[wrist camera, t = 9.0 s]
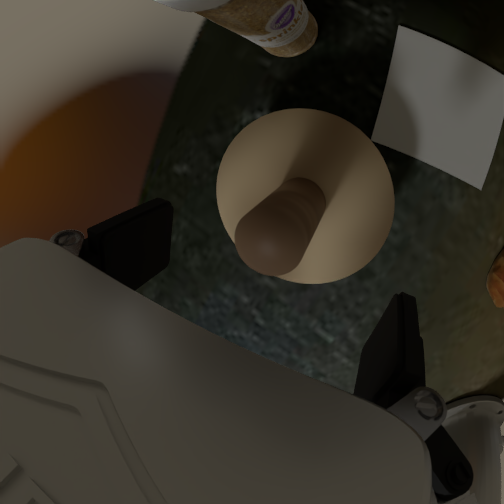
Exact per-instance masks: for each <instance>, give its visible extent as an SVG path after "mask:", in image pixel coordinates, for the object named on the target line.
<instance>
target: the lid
mask: <svg viewBox="0 0 504 504" xmlns="http://www.w3.org/2000/svg"><path fill="white" fill-rule="evenodd" d="M217 202H218V208H219V212H220V215H221V219H222V221H223V224H224V226H225V228H226V230H227V232H228V234H229V236H230V237H231V239H232V240H233V242H234V243H235V245H236V249H237V251H238V253H239V255H240V257H241V258H242V260H243V261H244V262H245V263H246V264H247V265H248V266H249V267H250V268H252V269H253V270H255V271H257V272H259V273H261V274H264V275H269V276H276V277H279V278H282V279H285V280H288V281H292V282H297V283H306V284H320V283H327V282H332V281H336V280H339V279H342V278H345V277H347V276H349V275H351V274H353V273H355V272H356V271H358V270H360V269H361V268H362V267H364V266H365V265H366V264H367V263H369V262H370V261H371V260H372V258H373V257H374V256H375V255H376V254H377V253H378V251H379V250H380V249H381V247H382V246H383V244H384V242H385V240H386V238H387V236H388V234H389V231H390V228H391V225H392V221H393V215H394V202H395V199H394V189H393V184H392V180H391V176H390V173H389V170H388V168H387V165H386V163H385V161H384V159H383V157H382V155H381V154H380V152H379V150H378V149H377V147H376V146H375V145H374V144H373V142H372V141H371V140H370V139H369V138H368V137H367V136H366V135H365V134H364V133H363V132H362V131H361V130H360V129H358V128H357V127H356V126H354V125H353V124H351V123H350V122H348V121H346V120H344V119H342V118H341V117H339V116H336V115H333V114H331V113H328V112H324V111H319V110H314V109H303V108H296V109H285V110H280V111H276V112H273V113H270V114H267V115H265V116H262V117H261V118H259V119H257V120H255V121H253V122H252V123H251V124H249V125H248V126H247V127H245V128H244V129H243V130H242V131H241V132H240V133H239V134H238V135H237V136H236V137H235V138H234V140H233V141H232V142H231V144H230V145H229V147H228V149H227V150H226V152H225V154H224V156H223V159H222V162H221V164H220V168H219V172H218V177H217Z"/></svg>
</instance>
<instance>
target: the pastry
mask: <svg viewBox="0 0 504 504" xmlns="http://www.w3.org/2000/svg"><path fill="white" fill-rule="evenodd" d="M486 286H487V289H488V292H489V294H490V296H491V297H492V300H493V302H494V304H495V306H496V307H503V308H504V249H503V250H502V251H501V252H500V254H499V255H498V257H497V258H496V259H495V261H494V262H493V264H492V267H491V269H490V271H489V273H488V276H487V282H486Z"/></svg>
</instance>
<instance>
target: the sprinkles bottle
mask: <svg viewBox="0 0 504 504" xmlns="http://www.w3.org/2000/svg"><path fill="white" fill-rule="evenodd" d="M154 1H156V2H158V3H161V4H163V5H166V6H169V7H171V8H174V9H177V10H181V11H186V12H195V13H197V14H199V15H201V16H203V17H206V18H208V19H210V20H211V21H213V22H215V23H217V24H219V25H221V26H223V27H225V28H227V29H229V30H231V31H233V32H235V33H237V34H239V35H241V36H243V37H245V38H247V39H249V40H250V41H252V42H254V43H256V44H258V45H260V46H262V47H263V48H264V49H265V50H266V51H268V52H269V53H271V54H273V55H276V56H279V57H293V56H297V55H299V54H302V53H303V52H306V51H307V50H308V49H310V48H311V46H312V45H314V43H315V40H316V38H317V35H318V25H317V22H316V20H315V18H314V16H313V15H312V14H311V13H310V12H309V11H308V10H307V7H306V5H305V3H304V2H303V0H154Z"/></svg>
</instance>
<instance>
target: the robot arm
mask: <svg viewBox="0 0 504 504" xmlns="http://www.w3.org/2000/svg"><path fill="white" fill-rule="evenodd" d="M172 221H173V207H172V206H171V203H170V202H169V201H167V200H164V199H161V198H155V199H153V200H151V201H148V202H146V203H144V204H141V205H139V206H136V207H134V208H132V209H130V210H127V211H125V212H123V213H121V214H118V215H116V216H114V217H112V218H110V219H108V220H105V221H103V222H101V223H99V224H97V225H94V226H92V227H90V228H88V229H87V233H88V238H86V239H84V235H83V233H81V232H80V231H77V230H64V231H60V232H58V233H56V234H55V235H53V236H52V238H51V239H50V241H45V240H42V239H36V238H23V239H19V240H17V241H14V242H12V243H10V244H8V245H6V246H4V247H2V248H0V504H501V463H500V454H501V453H502V451H503V445H504V436H501V430H500V426H501V425H502V423H503V421H504V402H503V401H502V400H501V399H499V398H498V397H494V396H489V395H480V396H473V397H468V398H464V399H461V400H457V401H455V402H452V403H450V404H447V405H446V403H445V401H444V399H443V398H442V396H441V395H440V394H439V393H438V392H437V391H435V390H434V389H432V388H429V387H426V385H425V362H424V348H423V339H422V338H421V337H420V333H419V323H418V314H417V305H416V298H415V297H413V296H411V295H408V294H406V293H404V292H401V293H400V294H399V295H398V294H395V295H394V296H393V298H392V300H391V301H390V303H389V305H388V307H387V308H386V310H385V312H384V314H383V315H382V317H381V319H380V321H379V322H378V324H377V326H376V327H375V329H374V331H373V332H372V334H371V335H370V337H369V339H368V340H367V342H366V343H365V345H364V347H363V349H362V353H361V358H360V364H359V369H358V374H357V379H356V384H355V389H354V394H351V393H348V392H346V391H343V390H341V389H338V388H336V387H333V386H331V385H329V384H326V383H324V382H321V381H319V380H316V379H313V378H311V377H309V376H306V375H304V374H301V373H299V372H296V371H294V370H292V369H289V368H287V367H285V366H282V365H280V364H278V363H275V362H273V361H271V360H269V359H266V358H264V357H262V356H260V355H258V354H255V353H253V352H251V351H249V350H247V349H245V348H242V347H240V346H238V345H236V344H234V343H232V342H230V341H228V340H226V339H224V338H221V337H219V336H217V335H215V334H213V333H211V332H209V331H207V330H205V329H203V328H201V327H199V326H198V325H196V324H194V323H192V322H190V321H188V320H186V319H184V318H182V317H180V316H178V315H177V314H175V313H173V312H171V311H169V310H167V309H165V308H164V307H162V306H160V305H158V304H156V303H155V302H153V301H151V300H149V299H147V298H146V297H144V296H142V295H141V294H139V293H137V292H135V290H136V289H138V288H139V287H140V286H142V285H143V284H144V283H146V282H147V281H149V280H150V279H151V278H153V277H154V276H155V275H157V274H158V273H159V272H161V271H162V270H163V269H165V268H166V267H167V266H168V264H169V260H170V245H171V233H172Z"/></svg>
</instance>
